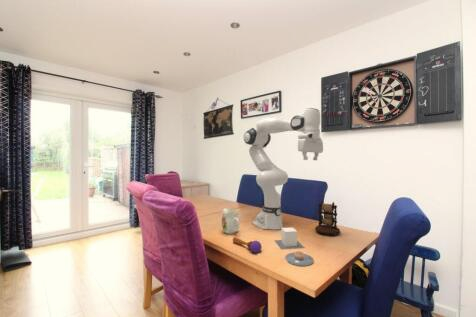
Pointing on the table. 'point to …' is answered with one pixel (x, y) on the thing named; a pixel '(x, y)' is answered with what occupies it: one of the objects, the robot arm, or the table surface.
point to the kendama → (249, 244)
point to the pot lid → (299, 259)
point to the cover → (289, 237)
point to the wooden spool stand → (327, 219)
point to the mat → (288, 247)
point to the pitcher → (230, 221)
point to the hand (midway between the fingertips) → (310, 160)
